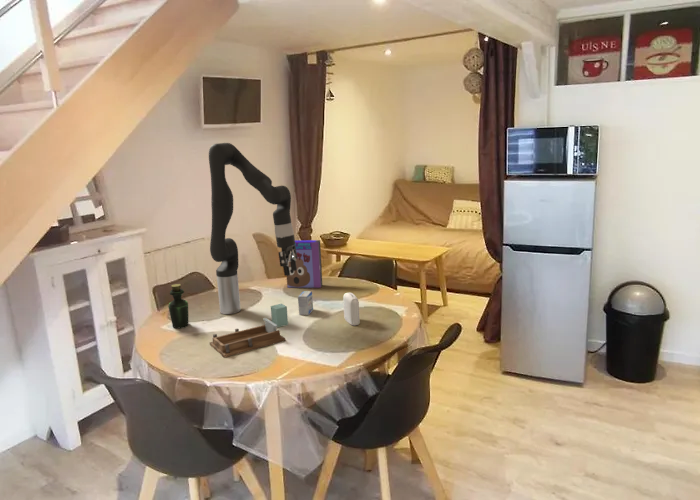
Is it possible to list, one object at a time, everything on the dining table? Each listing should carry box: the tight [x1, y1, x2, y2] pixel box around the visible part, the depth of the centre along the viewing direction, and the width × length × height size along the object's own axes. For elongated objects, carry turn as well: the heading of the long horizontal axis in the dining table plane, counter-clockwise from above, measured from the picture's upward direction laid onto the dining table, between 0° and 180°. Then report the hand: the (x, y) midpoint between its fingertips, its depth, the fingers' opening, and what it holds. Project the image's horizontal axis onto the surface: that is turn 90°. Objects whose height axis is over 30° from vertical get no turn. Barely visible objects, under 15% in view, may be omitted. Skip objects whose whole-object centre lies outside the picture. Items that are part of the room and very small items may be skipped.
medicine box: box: [297, 290, 314, 316], centre depth 245 cm, size 8×4×9 cm, turn 168°
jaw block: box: [270, 303, 289, 328], centre depth 232 cm, size 5×5×8 cm
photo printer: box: [342, 292, 361, 326], centre depth 231 cm, size 10×4×12 cm, turn 20°
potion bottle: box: [167, 283, 190, 329], centre depth 233 cm, size 8×8×18 cm
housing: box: [209, 324, 286, 358], centre depth 214 cm, size 15×25×4 cm, turn 124°
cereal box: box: [286, 239, 323, 289], centre depth 282 cm, size 17×5×24 cm, turn 81°
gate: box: [262, 317, 279, 333], centre depth 219 cm, size 11×1×5 cm, turn 34°
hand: (290, 272), depth 230 cm, fingers open, 8 cm apart
